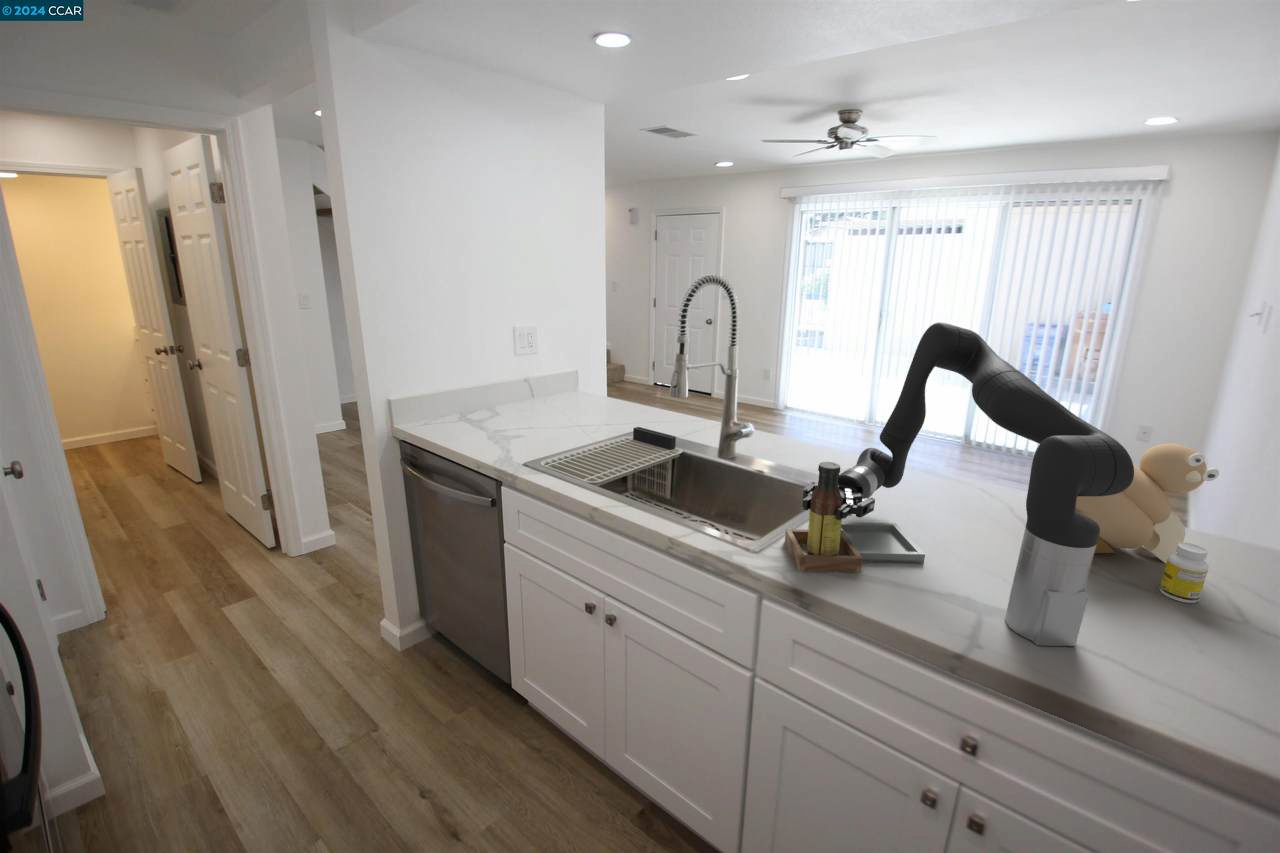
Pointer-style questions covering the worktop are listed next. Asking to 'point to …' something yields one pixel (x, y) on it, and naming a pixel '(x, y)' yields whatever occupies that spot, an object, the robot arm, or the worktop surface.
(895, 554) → the tray
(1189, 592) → the supplement bottle
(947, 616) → the worktop surface
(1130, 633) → the worktop surface
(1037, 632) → the robot arm
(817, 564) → the wooden frame
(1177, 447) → the chick figurine
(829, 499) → the sauce bottle
